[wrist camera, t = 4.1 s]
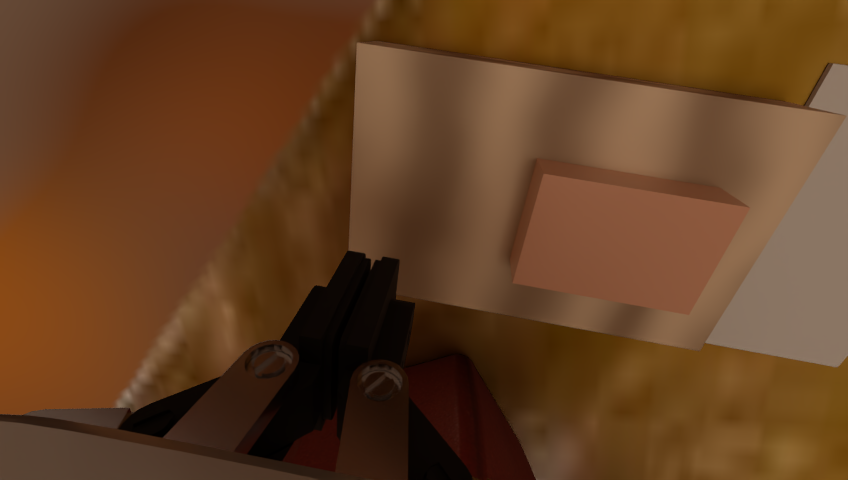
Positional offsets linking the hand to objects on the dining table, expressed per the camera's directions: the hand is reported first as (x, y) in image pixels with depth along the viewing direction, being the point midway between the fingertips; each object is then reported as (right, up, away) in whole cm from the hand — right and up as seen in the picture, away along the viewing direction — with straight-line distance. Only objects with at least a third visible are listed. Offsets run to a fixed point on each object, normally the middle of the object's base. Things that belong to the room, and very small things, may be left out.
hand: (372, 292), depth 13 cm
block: (+11, +2, +8) cm, 14 cm away
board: (+9, +5, +12) cm, 16 cm away
